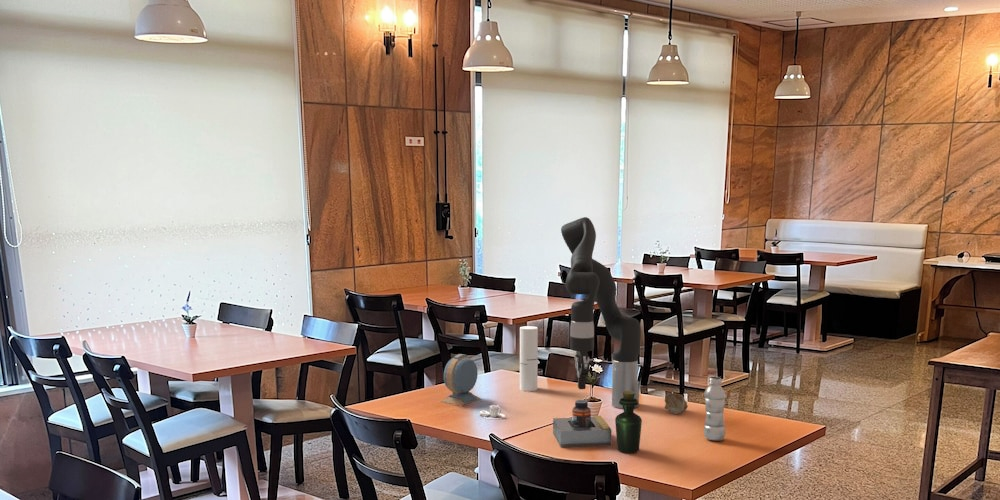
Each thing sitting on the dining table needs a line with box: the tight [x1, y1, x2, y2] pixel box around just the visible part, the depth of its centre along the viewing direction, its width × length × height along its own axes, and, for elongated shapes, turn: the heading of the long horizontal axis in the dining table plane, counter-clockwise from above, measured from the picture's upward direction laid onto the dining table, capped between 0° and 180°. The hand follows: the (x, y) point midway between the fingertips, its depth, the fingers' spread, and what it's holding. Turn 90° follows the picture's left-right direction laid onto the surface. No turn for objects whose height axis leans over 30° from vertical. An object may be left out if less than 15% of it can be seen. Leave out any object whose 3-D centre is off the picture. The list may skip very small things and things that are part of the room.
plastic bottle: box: [703, 376, 726, 442], centre depth 244 cm, size 6×7×20 cm
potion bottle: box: [614, 391, 643, 455], centre depth 234 cm, size 8×8×18 cm
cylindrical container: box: [519, 325, 539, 392], centre depth 308 cm, size 7×7×25 cm
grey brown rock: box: [664, 392, 689, 415], centre depth 276 cm, size 9×7×8 cm
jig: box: [552, 415, 613, 448], centre depth 245 cm, size 16×14×6 cm
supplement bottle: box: [571, 399, 592, 428], centre depth 245 cm, size 6×6×11 cm
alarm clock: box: [440, 353, 481, 406], centre depth 292 cm, size 14×10×18 cm
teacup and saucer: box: [479, 404, 506, 421], centre depth 271 cm, size 9×8×4 cm
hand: (581, 388), depth 244 cm, fingers closed
